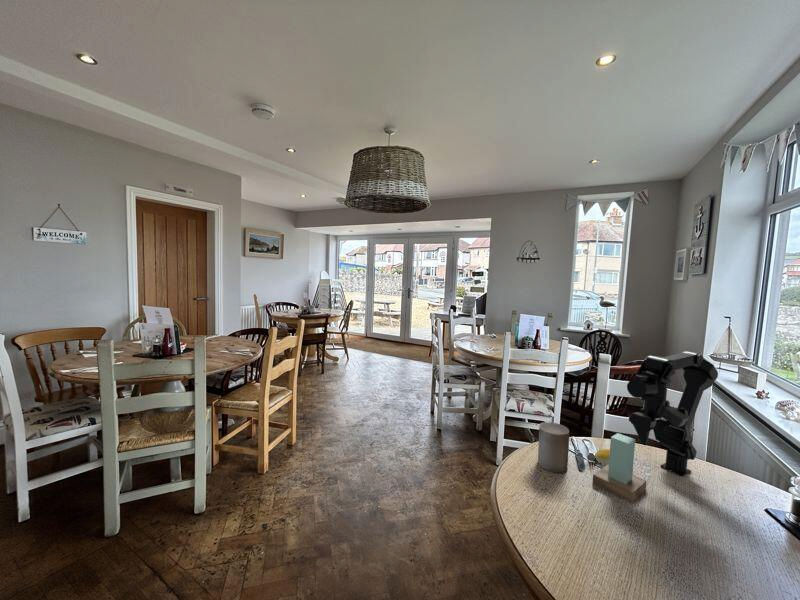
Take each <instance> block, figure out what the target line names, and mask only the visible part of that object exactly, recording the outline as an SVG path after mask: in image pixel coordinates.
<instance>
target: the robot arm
mask: <svg viewBox="0 0 800 600" xmlns="http://www.w3.org/2000/svg"><path fill="white" fill-rule="evenodd" d="M678 370H682V371H683V375H682V376H683V380H684V381H685V387H684V390H683V392H682V395H681V398H680V400H679V402H678V406H677V408H676V407H672V406H670V403H671V402H670V401H669V400H668V399H667V393H668V386H669V385H668V384H669V383H671V382H672V380H671V379H670V378H671V376H674V375H675V374H676V371H678ZM718 377H719V372H718V370H717V368H716V367H715V365H714V364H713V363H711V362H710V361H708V360H707V359H705V358H704V356H703V355H702V354H700V353H699V352H698V353H697V352H693V351H681V353H676V354H672V355H668V356H660V355H659V356H658V355H648V356H646V357H645V359H643V361H642V363H641V365H640V366H639V368H638V370H637V371H636V373H635V375H634V378H633V379H631V380H629V381H628V383H626V389H627V392H628V394H630V395H631V396H632V397H633V398H635V399H636V398H637V399H641V400H642V401H643V406H642V408H640V409H639V411H640V412H639V411H637V412H632V413H630V414H629V415H628V421H629V422H630V423H631V424H632V426H633V428H634V430H635V432H636V435H637V436H638V438H639V441H640V443H641V445H643V446H647V443H648V441H649V437H650V433H651V431H652V430H653V434H654V438H655V440H656V441H658V444H659V448H660V449H663V450H665V451H666V456H665V463H662V464H660V467H661V468H662V469H665V470H666V471H667V470H668V471H670V472H671V473H674V474H676V475H678V476H679V477H683V476H686V475H688V474H691V473H692V470H691V469H688V460H689V461H690V460H692V461H694V460H695V458H696V456H697V453H698V452H697V449H696V447H694V445H693V441H694V440H693V435H692V431H691V427H692V423H693V421H694V418H695V415H696V413H697V410H698V407H699V404H700V402H701V399H702V396H703V393H704V391H706V390H708V389H710V388H711V387H712V386H714V383H715V381H716V380H717V379H718Z"/></svg>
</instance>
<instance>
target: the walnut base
mask: <svg viewBox="0 0 800 600" xmlns="http://www.w3.org/2000/svg"><path fill="white" fill-rule="evenodd" d="M608 469H609V464H608V465H606V466H603V467H602V468H601V469H598V471H596V472H594V473H593V474H592V484H593V485H594V486H597V487H599V488H601V489H602V490H605V491H607V492H609V493H610V494H613V495H615V496H617V497H619V498H621V499H623V500H625V501H627V502H629V503H633V502H634V501H635V500H636V499H638V497H640V496H641V495H642V494H643V493H644V492H645V491H646V490H647V489H646V488H647V480H646V479H644V478H642V477H639V476H638V475H635V474H632V480H630V481H629V482H628V483H627V484H624V483H621V482H619V481H617V480H615V479H613V478H610V477H608Z"/></svg>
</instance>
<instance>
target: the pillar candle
mask: <svg viewBox="0 0 800 600" xmlns="http://www.w3.org/2000/svg"><path fill="white" fill-rule="evenodd" d="M538 428H539V429H538V430H539V432H538V451H537V464H538V463H539V464H538V465H539V466H540V467H541V468H542V467H543V468H544V470H545V469H546V470H545V471H547V470H548V471H547V472H550V471H551V472H550V473H553V472H554V473H556V474H561V473H566V472H568V466H569V465H568V464H569V463H568V462H569V449H570V429H569V428H568V427H567V426H565V425H564V424H563V425H562V424H560V423H558V422H551V421H549V422H548V421H547V422H546V421H545V422H541V423H539V425H538ZM543 468H542V469H543Z"/></svg>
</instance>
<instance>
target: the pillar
mask: <svg viewBox="0 0 800 600" xmlns="http://www.w3.org/2000/svg"><path fill="white" fill-rule="evenodd" d="M635 447H636V439H635V438H632V437H630V436H627V435H624V434H621V433H616V434H614V435H612V436H611V437H610V447H609V450H610V456H609V469H608V477H610V478H613V479H615V480H617V481H619V482H621V483H624V484H627V483H628V482H629V481H630V480H632V475H634V473H633V472H634V471H633V470H634V463H635V461H634V459H635V449H636V448H635Z"/></svg>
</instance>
